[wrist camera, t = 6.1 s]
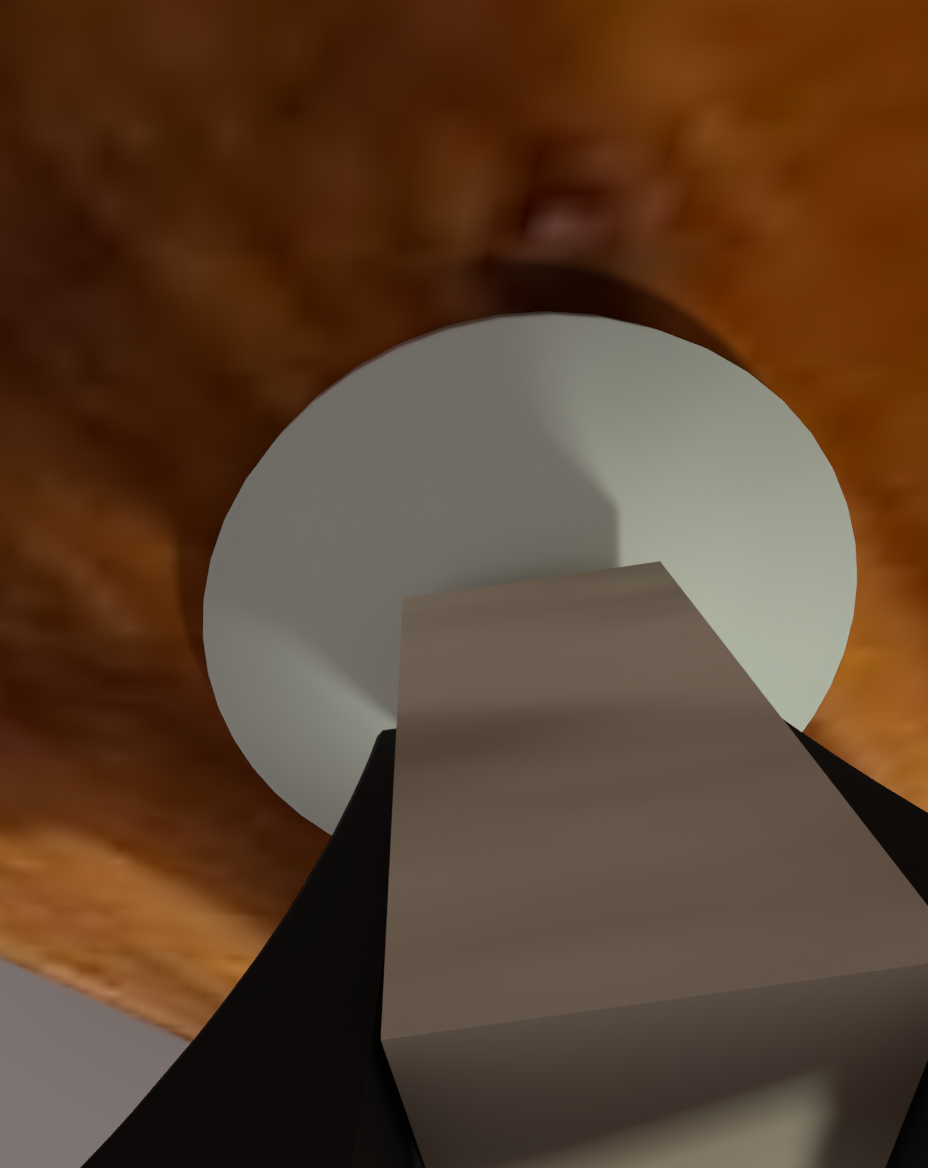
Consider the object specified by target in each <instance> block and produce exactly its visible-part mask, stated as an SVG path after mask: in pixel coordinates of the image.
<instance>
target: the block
mask: <svg viewBox="0 0 928 1168" xmlns="http://www.w3.org/2000/svg"><path fill="white" fill-rule="evenodd" d="M381 1042H382V1045H383V1048H384V1051H385V1054H386V1056H387V1059H388V1062H389V1065H390V1068H391V1071H392V1073H393V1076H394V1079H395V1082H396V1085H397V1088H398V1091H399V1093H400V1096H401V1099H402V1102H403V1105H404V1108H405V1110H406V1113H407V1116H408V1119H409V1122H410V1125H411V1128H412V1130H413V1133H414V1136H415V1139H416V1142H417V1145H418V1147H419V1150H420V1153H421V1156H422V1159H423V1162H424V1165H425V1167H426V1168H885V1167H886V1165H887V1162H888V1160H889V1157H890V1155H891V1152H892V1150H893V1147H894V1145H895V1142H896V1140H897V1137H898V1134H899V1132H900V1129H901V1127H902V1124H903V1122H904V1119H905V1117H906V1114H907V1112H908V1109H909V1106H910V1104H911V1101H912V1099H913V1096H914V1094H915V1091H916V1089H917V1086H918V1084H919V1081H920V1079H921V1076H922V1073H923V1071H924V1068H925V1066H926V1063H927V1061H928V906H927V904H926V903H925V902H924V900H923V899H922V898H921V897H920V895H919V894H918V893H917V891H916V890H915V889H914V888H913V886H912V885H911V884H910V882H909V881H908V880H907V879H906V877H905V876H904V875H903V873H902V872H901V871H900V869H899V868H898V867H897V866H896V864H895V863H894V862H893V860H892V859H891V858H890V857H889V855H888V854H887V853H886V851H885V850H884V849H883V848H882V846H881V845H880V844H879V842H878V841H877V840H876V839H875V837H874V836H873V835H872V833H871V832H870V831H869V830H868V828H867V827H866V826H865V824H864V823H863V822H862V821H861V819H860V818H859V817H858V815H857V814H856V813H855V812H854V810H853V809H852V808H851V806H850V805H849V804H848V803H847V801H846V800H845V799H844V797H843V796H842V795H841V794H840V792H839V791H838V790H837V788H836V787H835V786H834V785H833V783H832V782H831V781H830V779H829V778H828V777H827V775H826V774H825V773H824V772H823V770H822V769H821V768H820V766H819V765H818V764H817V763H816V761H815V760H814V759H813V757H812V756H811V755H810V754H809V752H808V751H807V750H806V748H805V747H804V746H803V745H802V743H801V742H800V741H799V739H798V738H797V737H796V736H795V734H794V733H793V732H792V730H791V729H790V728H789V727H788V725H787V724H786V723H785V721H784V720H783V719H782V718H781V716H780V715H779V714H778V712H777V711H776V710H775V709H774V707H773V706H772V705H771V703H770V702H769V701H768V700H767V698H766V697H765V696H764V694H763V693H762V692H761V690H760V689H759V688H758V687H757V685H756V684H755V683H754V681H753V680H752V679H751V678H750V676H749V675H748V674H747V672H746V671H745V670H744V669H743V667H742V666H741V665H740V663H739V662H738V661H737V660H736V658H735V657H734V656H733V654H732V653H731V652H730V651H729V649H728V648H727V647H726V645H725V644H724V643H723V642H722V640H721V639H720V638H719V636H718V635H717V634H716V633H715V631H714V630H713V629H712V627H711V626H710V625H709V624H708V622H707V621H706V620H705V618H704V617H703V616H702V615H701V613H700V612H699V611H698V609H697V608H696V607H695V605H694V604H693V603H692V602H691V600H690V599H689V598H688V596H687V595H686V594H685V593H684V591H683V590H682V589H681V587H680V586H679V585H678V584H677V582H676V581H675V580H674V578H673V577H672V576H671V575H670V573H669V572H668V571H667V569H666V568H665V567H664V566H663V564H662V563H661V562H660V561H659V562H652V563H645V564H638V565H631V566H624V567H617V568H610V569H603V570H596V571H589V572H583V573H576V574H569V575H562V576H555V577H548V578H541V579H534V580H527V581H520V582H514V583H507V584H500V585H493V586H486V587H479V588H472V589H465V590H458V591H451V592H445V593H438V594H431V595H424V596H417V597H410V598H403V608H402V628H401V648H400V668H399V687H398V707H397V727H396V747H395V767H394V787H393V807H392V826H391V846H390V866H389V886H388V906H387V926H386V946H385V966H384V985H383V1005H382V1025H381Z"/></svg>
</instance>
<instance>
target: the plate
mask: <svg viewBox="0 0 928 1168" xmlns="http://www.w3.org/2000/svg"><path fill="white" fill-rule="evenodd" d="M659 561H660V562H661V563H662V564H663V566H664V567H665V568H666V569H667V571H668V572H669V573H670V575H671V576H672V577H673V578H674V580H675V581H676V582H677V584H678V585H679V586H680V587H681V589H682V590H683V591H684V593H685V594H686V595H687V596H688V598H689V599H690V600H691V602H692V603H693V604H694V605H695V607H696V608H697V609H698V611H699V612H700V613H701V615H702V616H703V617H704V618H705V620H706V621H707V622H708V624H709V625H710V626H711V627H712V629H713V630H714V631H715V633H716V634H717V635H718V636H719V638H720V639H721V640H722V642H723V643H724V644H725V645H726V647H727V648H728V649H729V651H730V652H731V653H732V654H733V656H734V657H735V658H736V660H737V661H738V662H739V663H740V665H741V666H742V667H743V669H744V670H745V671H746V672H747V674H748V675H749V676H750V678H751V679H752V680H753V681H754V683H755V684H756V685H757V687H758V688H759V689H760V690H761V692H762V693H763V694H764V696H765V697H766V698H767V700H768V701H769V702H770V703H771V705H772V706H773V707H774V709H775V710H776V711H777V712H778V714H779V715H780V716H781V718H782V719H784V720H785V721H787V722H788V723H789V724H791V725H792V726H794V727H795V728H797V729H798V730H799V731H801V732H802V731H803V730H804V728H805V727H806V726H807V724H808V723H809V722H810V720H811V719H812V717H813V716H814V714H815V713H816V711H817V709H818V707H819V705H820V704H821V702H822V700H823V698H824V696H825V695H826V693H827V691H828V689H829V687H830V686H831V683H832V681H833V678H834V676H835V674H836V671H837V669H838V666H839V664H840V661H841V659H842V656H843V654H844V651H845V647H846V643H847V639H848V635H849V631H850V627H851V624H852V620H853V614H854V605H855V595H856V586H857V568H856V547H855V539H854V534H853V530H852V525H851V520H850V516H849V511H848V506H847V503H846V501H845V498H844V496H843V493H842V491H841V488H840V486H839V483H838V481H837V478H836V475H835V473H834V470H833V468H832V467H831V465H830V463H829V462H828V460H827V458H826V457H825V455H824V453H823V452H822V450H821V448H820V447H819V445H818V443H817V442H816V440H815V439H814V437H813V435H812V434H811V432H810V431H809V430H808V429H807V428H806V427H805V426H804V424H803V423H802V422H801V421H800V420H799V419H798V417H797V416H796V415H795V414H794V413H793V412H792V411H791V409H790V408H789V407H788V406H787V405H786V404H785V403H784V401H783V400H781V399H780V398H779V397H778V396H776V395H775V394H774V393H773V392H772V391H770V390H769V389H768V388H767V387H765V386H764V385H763V384H762V383H761V382H759V381H758V380H757V379H756V378H754V377H753V376H752V375H751V374H750V373H748V372H747V371H745V370H743V369H741V368H740V367H738V366H736V365H735V364H733V363H731V362H729V361H728V360H726V359H724V358H722V357H721V356H719V355H717V354H716V353H714V352H712V351H710V350H709V349H707V348H704V347H702V346H699V345H696V344H694V343H691V342H688V341H686V340H683V339H681V338H678V337H675V336H673V335H670V334H668V333H665V332H662V331H660V330H657V329H654V328H650V327H647V326H644V325H641V324H637V323H632V322H628V321H623V320H618V319H614V318H609V317H605V316H600V315H595V314H583V313H568V312H553V311H538V312H525V313H512V314H499V315H492V316H488V317H483V318H479V319H474V320H469V321H465V322H460V323H456V324H451V325H447V326H444V327H441V328H439V329H436V330H433V331H430V332H428V333H425V334H422V335H420V336H417V337H414V338H412V339H409V340H406V341H404V342H401V343H399V344H397V345H395V346H393V347H391V348H389V349H388V350H386V351H384V352H382V353H380V354H378V355H376V356H375V357H373V358H371V359H369V360H367V361H365V362H364V363H362V364H360V365H358V366H356V367H355V368H354V369H352V370H351V371H349V372H348V373H347V374H345V375H344V376H343V377H341V378H340V379H339V380H337V381H336V382H335V383H333V384H332V385H331V386H329V387H328V388H326V389H325V390H324V391H322V392H321V393H320V394H318V395H317V396H316V397H315V398H314V399H313V400H312V401H311V402H310V403H309V404H308V405H307V406H306V407H305V408H304V409H303V410H302V411H301V412H300V413H299V414H298V415H297V416H296V417H295V418H294V419H293V420H292V421H291V422H290V423H289V424H288V425H287V426H286V427H285V428H284V430H283V431H282V432H281V433H280V435H279V436H278V437H277V439H276V440H275V441H274V443H273V444H272V445H271V447H270V448H269V449H268V451H267V452H266V453H265V455H264V456H263V457H262V459H261V460H260V461H259V463H258V464H257V465H256V467H255V468H254V469H253V471H252V472H251V473H250V475H249V476H248V477H247V479H246V480H245V482H244V484H243V486H242V488H241V489H240V491H239V493H238V495H237V497H236V499H235V501H234V502H233V504H232V506H231V508H230V510H229V512H228V514H227V516H226V517H225V519H224V522H223V525H222V528H221V531H220V534H219V537H218V539H217V542H216V545H215V548H214V551H213V554H212V557H211V560H210V566H209V571H208V577H207V582H206V588H205V594H204V603H203V641H204V648H205V655H206V662H207V669H208V675H209V678H210V681H211V685H212V688H213V691H214V694H215V698H216V701H217V704H218V707H219V710H220V712H221V714H222V716H223V718H224V720H225V722H226V724H227V726H228V728H229V730H230V733H231V735H232V737H233V739H234V740H235V742H236V743H237V745H238V746H239V748H240V749H241V751H242V752H243V754H244V755H245V757H246V758H247V760H248V761H249V763H250V764H251V766H252V767H253V768H254V770H255V771H256V772H257V773H258V774H259V775H260V776H261V777H262V779H263V780H264V781H265V782H266V783H267V784H268V785H269V786H270V787H271V789H272V790H273V791H274V792H275V793H276V794H277V795H278V796H279V797H281V798H282V799H283V800H284V801H285V802H286V803H288V804H289V805H290V806H291V807H292V808H293V809H295V810H296V811H297V812H298V813H299V814H300V815H302V816H303V817H305V818H306V819H308V820H309V821H311V822H312V823H314V824H315V825H316V826H318V827H319V828H321V829H322V830H324V831H325V832H327V833H328V834H330V835H333V833H334V831H335V829H336V827H337V825H338V823H339V821H340V819H341V817H342V815H343V813H344V811H345V809H346V807H347V805H348V803H349V801H350V799H351V797H352V795H353V793H354V790H355V788H356V786H357V784H358V782H359V780H360V777H361V775H362V773H363V771H364V768H365V766H366V764H367V761H368V759H369V756H370V754H371V751H372V749H373V746H374V744H375V741H376V738H377V736H378V735H379V734H380V733H381V732H382V730H388V729H395V728H396V727H397V707H398V687H399V668H400V648H401V628H402V608H403V598H410V597H417V596H424V595H431V594H438V593H445V592H451V591H458V590H465V589H472V588H479V587H486V586H493V585H500V584H507V583H514V582H520V581H527V580H534V579H541V578H548V577H555V576H562V575H569V574H576V573H583V572H589V571H596V570H603V569H610V568H617V567H624V566H631V565H638V564H645V563H652V562H659Z"/></svg>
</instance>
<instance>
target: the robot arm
mask: <svg viewBox="0 0 928 1168" xmlns="http://www.w3.org/2000/svg"><path fill="white" fill-rule="evenodd" d="M783 720H784V719H783ZM784 721H785V720H784ZM785 723H786V724H787V725H788V727H789V728H790V729H791V730H792V732H793V733H794V734H795V736H796V737H797V738H798V739H799V741H800V742H801V743H802V745H803V746H804V747H805V748H806V750H807V751H808V752H809V754H810V755H811V756H812V757H813V759H814V760H815V761H816V763H817V764H818V765H819V766H820V768H821V769H822V770H823V772H824V773H825V774H826V775H827V777H828V778H829V779H830V781H831V782H832V783H833V785H834V786H835V787H836V788H837V790H838V791H839V792H840V794H841V795H842V796H843V797H844V799H845V800H846V801H847V803H848V804H849V805H850V806H851V808H852V809H853V810H854V812H855V813H856V814H857V815H858V817H859V818H860V819H861V821H862V822H863V823H864V824H865V826H866V827H867V828H868V830H869V831H870V832H871V833H872V835H873V836H874V837H875V839H876V840H877V841H878V842H879V844H880V845H881V846H882V848H883V849H884V850H885V851H886V853H887V854H888V855H889V857H890V858H891V859H892V860H893V862H894V863H895V864H896V866H897V867H898V868H899V869H900V871H901V872H902V873H903V875H904V876H905V877H906V879H907V880H908V881H909V882H910V884H911V885H912V886H913V888H914V889H915V890H916V891H917V893H918V894H919V895H920V897H921V898H922V899H923V900H924V902H925V903H926V904H927V906H928V813H927V812H925V811H924V810H922V809H920V808H919V807H917V806H915V805H914V804H912V803H910V802H909V801H907V800H906V799H904V798H902V797H901V796H899V795H897V794H896V793H894V792H892V791H891V790H889V789H887V788H886V787H884V786H882V785H881V784H879V783H878V782H876V781H874V780H873V779H871V778H870V777H868V776H867V775H865V774H863V773H862V772H860V771H859V770H857V769H856V768H854V767H852V766H851V765H849V764H848V763H846V762H845V761H843V760H842V759H840V758H839V757H837V756H836V755H834V754H833V753H831V752H830V751H828V750H827V749H825V748H824V747H823V746H821V745H820V744H818V743H817V742H815V741H814V740H812V739H811V738H809V737H808V736H807V735H805V734H804V733H802V732H801V731H799V730H798V729H797V728H795V727H794V726H792V725H791V724H789V723H788V722H787V721H785ZM395 747H396V728H395V729H388V730H382V732H381V733H380V734H379V735H378V736H377V738H376V741H375V744H374V746H373V749H372V751H371V754H370V756H369V759H368V761H367V764H366V766H365V768H364V771H363V773H362V775H361V777H360V780H359V782H358V784H357V786H356V788H355V790H354V793H353V795H352V797H351V799H350V801H349V803H348V805H347V807H346V809H345V811H344V813H343V815H342V817H341V819H340V821H339V823H338V825H337V827H336V829H335V831H334V833H333V835H332V836H331V838H330V840H329V842H328V844H327V846H326V847H325V849H324V851H323V853H322V854H321V856H320V858H319V860H318V861H317V863H316V865H315V866H314V868H313V870H312V872H311V873H310V875H309V877H308V879H307V880H306V882H305V884H304V886H303V887H302V889H301V891H300V892H299V894H298V896H297V897H296V899H295V900H294V902H293V903H292V905H291V907H290V908H289V910H288V911H287V913H286V915H285V916H284V918H283V919H282V921H281V922H280V924H279V925H278V927H277V928H276V930H275V931H274V933H273V934H272V936H271V937H270V938H269V940H268V941H267V943H266V944H265V946H264V947H263V949H262V950H261V952H260V953H259V955H258V956H257V957H256V959H255V960H254V962H253V963H252V964H251V966H250V967H249V968H248V970H247V971H246V972H245V974H244V975H243V976H242V978H241V979H240V980H239V982H238V983H237V984H236V986H235V987H234V989H233V990H232V991H231V993H230V994H229V995H228V997H227V998H226V999H225V1001H224V1002H223V1003H222V1005H221V1006H220V1007H219V1009H218V1010H217V1011H216V1012H215V1014H214V1015H213V1016H212V1018H211V1019H210V1020H209V1021H208V1023H207V1024H206V1025H205V1026H204V1028H203V1029H202V1030H201V1031H200V1033H199V1034H198V1035H197V1036H196V1038H195V1039H194V1040H193V1041H192V1042H191V1044H190V1045H189V1046H188V1047H187V1048H186V1049H185V1051H184V1052H183V1053H182V1054H181V1055H180V1057H179V1058H178V1059H177V1060H176V1061H175V1062H174V1064H173V1065H172V1066H171V1067H170V1068H169V1069H168V1071H167V1072H166V1073H165V1074H164V1075H163V1076H162V1078H161V1079H160V1080H159V1081H158V1082H157V1083H156V1085H155V1086H154V1087H153V1088H152V1089H151V1091H150V1092H149V1093H148V1094H147V1095H146V1097H145V1098H144V1099H143V1100H142V1101H141V1102H140V1103H139V1105H138V1106H137V1107H136V1108H135V1109H134V1110H133V1112H132V1113H131V1114H130V1115H129V1116H128V1117H127V1118H126V1119H125V1121H124V1122H123V1123H122V1124H121V1125H120V1126H119V1127H118V1128H117V1129H116V1131H115V1132H114V1133H113V1134H112V1135H111V1136H110V1137H109V1138H108V1139H107V1140H106V1141H105V1142H104V1143H103V1144H102V1146H101V1147H100V1148H99V1149H98V1150H97V1151H96V1152H95V1153H94V1154H93V1155H92V1156H91V1157H90V1158H89V1159H88V1160H87V1161H86V1162H85V1163H84V1165H82V1167H81V1168H426V1167H425V1165H424V1162H423V1159H422V1156H421V1153H420V1150H419V1147H418V1145H417V1142H416V1139H415V1136H414V1133H413V1130H412V1128H411V1125H410V1122H409V1119H408V1116H407V1113H406V1110H405V1108H404V1105H403V1102H402V1099H401V1096H400V1093H399V1091H398V1088H397V1085H396V1082H395V1079H394V1076H393V1073H392V1071H391V1068H390V1065H389V1062H388V1059H387V1056H386V1054H385V1051H384V1048H383V1045H382V1042H381V1025H382V1005H383V985H384V966H385V946H386V926H387V906H388V886H389V866H390V846H391V826H392V807H393V787H394V767H395ZM885 1168H928V1061H927V1063H926V1066H925V1068H924V1071H923V1073H922V1076H921V1079H920V1081H919V1084H918V1086H917V1089H916V1091H915V1094H914V1096H913V1099H912V1101H911V1104H910V1106H909V1109H908V1112H907V1114H906V1117H905V1119H904V1122H903V1124H902V1127H901V1129H900V1132H899V1134H898V1137H897V1140H896V1142H895V1145H894V1147H893V1150H892V1152H891V1155H890V1157H889V1160H888V1162H887V1165H886V1167H885Z"/></svg>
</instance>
